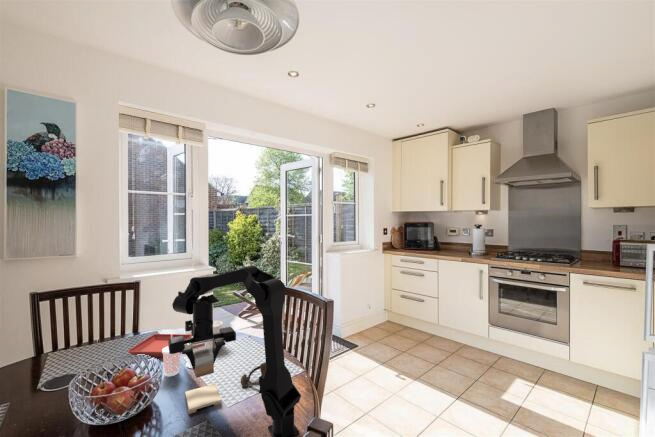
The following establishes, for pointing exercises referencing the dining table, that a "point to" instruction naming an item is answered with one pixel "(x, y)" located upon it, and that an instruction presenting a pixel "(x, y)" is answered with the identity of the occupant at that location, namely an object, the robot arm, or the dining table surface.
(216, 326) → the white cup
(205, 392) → the cream slab
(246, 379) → the brown looped cylinder
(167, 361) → the beverage cup
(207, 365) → the housing
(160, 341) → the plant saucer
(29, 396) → the dining table surface
